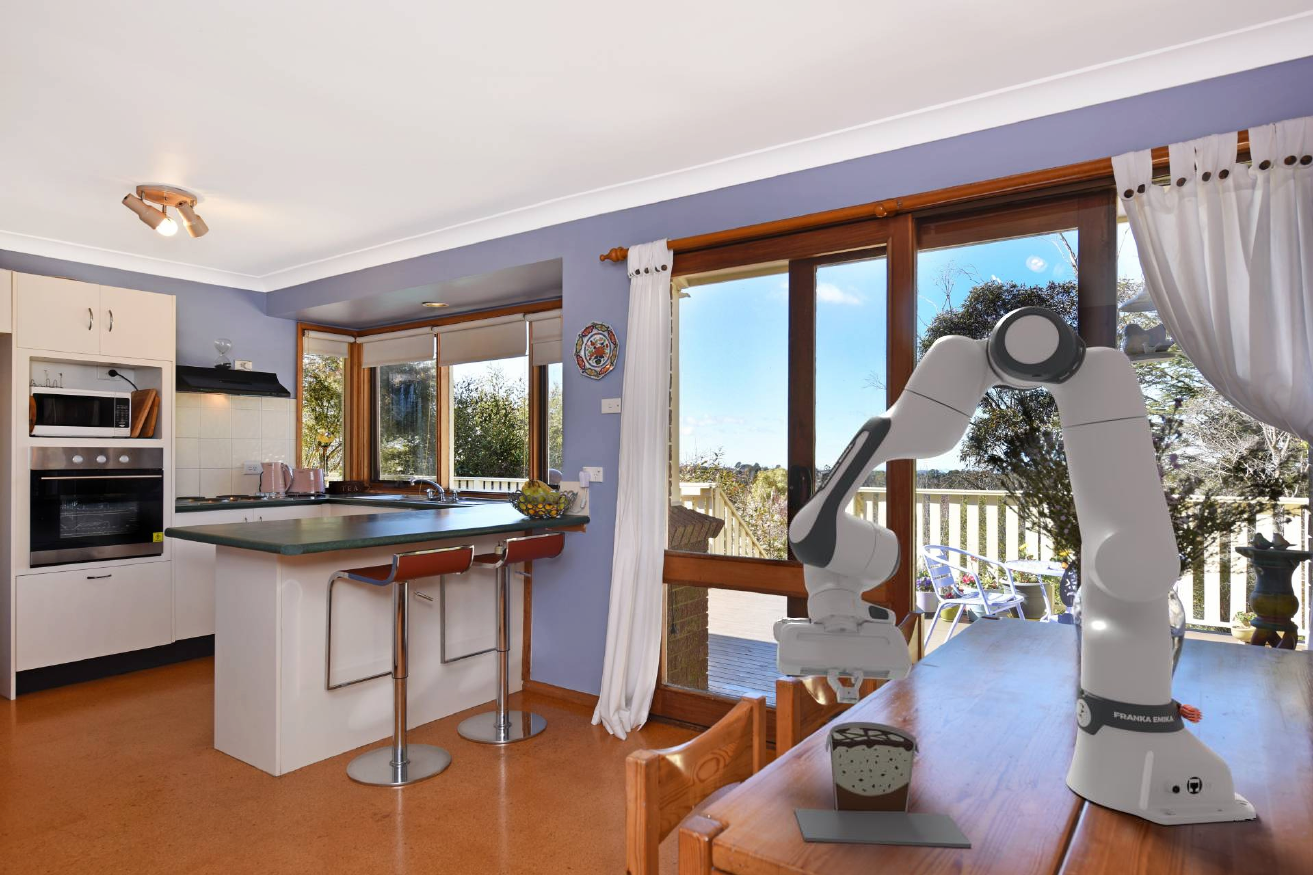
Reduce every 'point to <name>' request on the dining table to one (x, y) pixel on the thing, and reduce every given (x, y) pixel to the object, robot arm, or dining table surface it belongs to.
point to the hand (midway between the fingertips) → (848, 701)
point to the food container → (871, 766)
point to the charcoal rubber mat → (879, 828)
